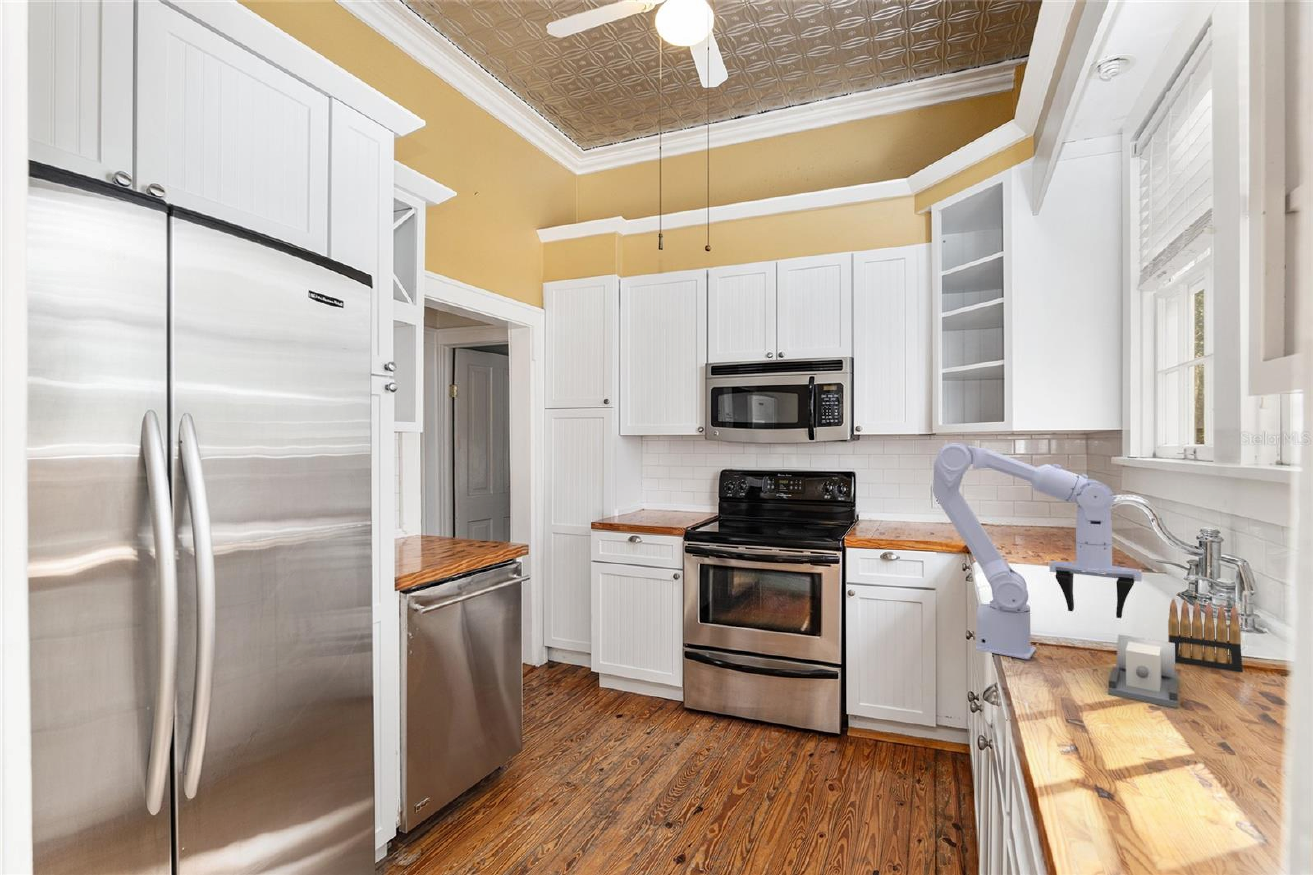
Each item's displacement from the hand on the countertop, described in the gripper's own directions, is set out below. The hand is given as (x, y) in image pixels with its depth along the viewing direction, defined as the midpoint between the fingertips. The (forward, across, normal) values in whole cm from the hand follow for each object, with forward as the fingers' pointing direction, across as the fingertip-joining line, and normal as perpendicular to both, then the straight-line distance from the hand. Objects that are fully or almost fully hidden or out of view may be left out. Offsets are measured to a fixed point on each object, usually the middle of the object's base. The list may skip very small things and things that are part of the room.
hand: (1094, 613), depth 123 cm
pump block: (+8, +8, -11) cm, 16 cm away
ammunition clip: (+10, +16, +11) cm, 22 cm away
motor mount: (+9, +8, -9) cm, 15 cm away
